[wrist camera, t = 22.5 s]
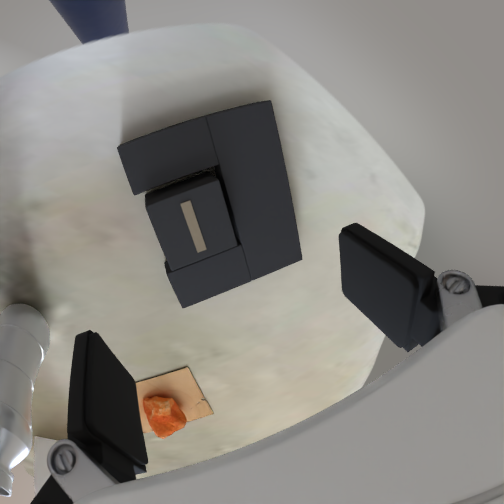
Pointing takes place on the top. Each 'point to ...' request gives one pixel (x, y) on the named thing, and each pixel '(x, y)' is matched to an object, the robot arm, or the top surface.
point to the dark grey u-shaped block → (225, 192)
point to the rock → (170, 402)
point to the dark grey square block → (190, 220)
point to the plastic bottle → (18, 383)
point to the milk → (41, 461)
